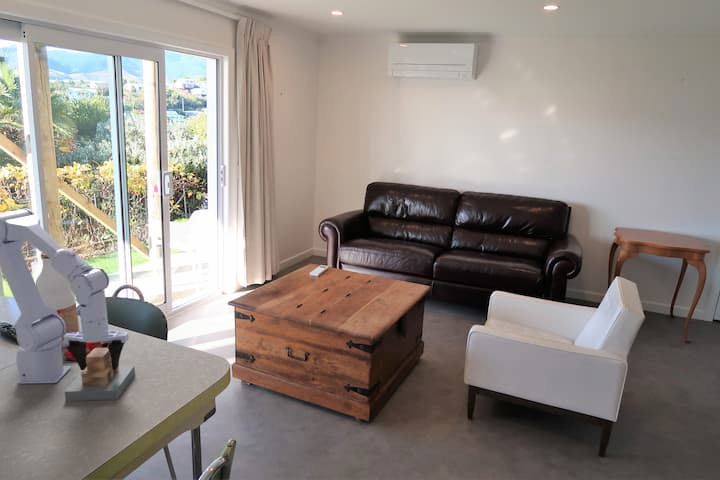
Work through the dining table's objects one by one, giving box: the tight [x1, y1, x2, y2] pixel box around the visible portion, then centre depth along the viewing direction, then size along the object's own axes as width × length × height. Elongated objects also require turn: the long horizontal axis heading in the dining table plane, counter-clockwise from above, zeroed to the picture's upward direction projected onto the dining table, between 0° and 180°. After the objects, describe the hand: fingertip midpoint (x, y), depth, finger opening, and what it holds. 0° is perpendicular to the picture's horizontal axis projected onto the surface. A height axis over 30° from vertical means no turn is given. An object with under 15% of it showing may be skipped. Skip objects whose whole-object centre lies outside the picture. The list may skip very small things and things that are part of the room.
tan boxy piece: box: [80, 361, 120, 386], centre depth 123 cm, size 6×8×4 cm
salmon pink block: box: [86, 347, 112, 370], centre depth 123 cm, size 4×5×4 cm
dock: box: [64, 365, 136, 402], centre depth 124 cm, size 12×12×2 cm
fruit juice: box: [35, 252, 80, 349], centre depth 144 cm, size 9×9×28 cm
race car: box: [63, 342, 112, 361], centre depth 142 cm, size 13×5×4 cm, turn 150°
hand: (99, 368), depth 123 cm, fingers open, 7 cm apart
